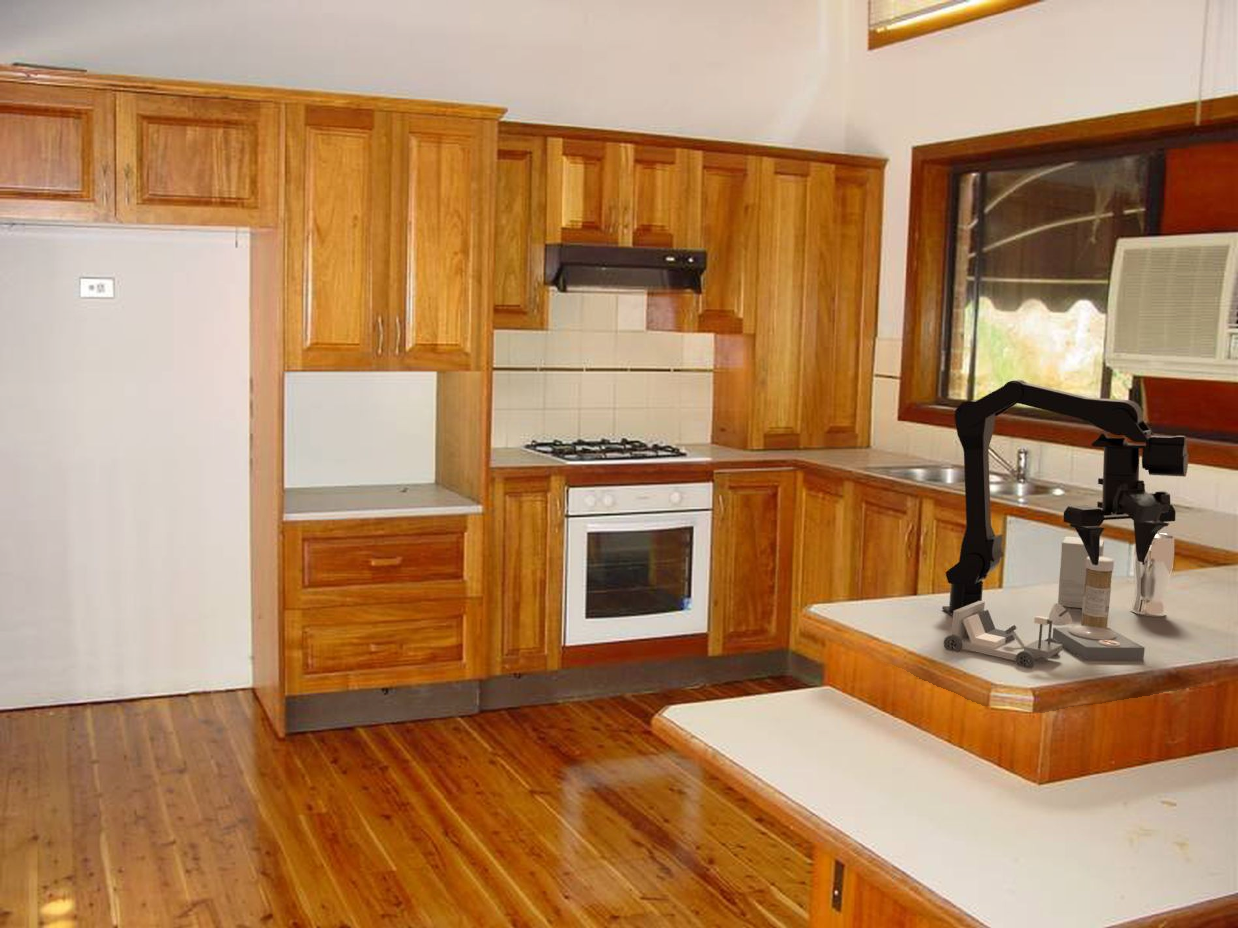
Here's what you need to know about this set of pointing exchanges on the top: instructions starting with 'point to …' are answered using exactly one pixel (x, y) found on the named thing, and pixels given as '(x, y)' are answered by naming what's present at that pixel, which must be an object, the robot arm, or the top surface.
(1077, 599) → the supplement box
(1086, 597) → the sprinkles bottle
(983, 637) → the toy go kart
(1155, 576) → the beer glass
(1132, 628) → the top surface
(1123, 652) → the kitchen scale
